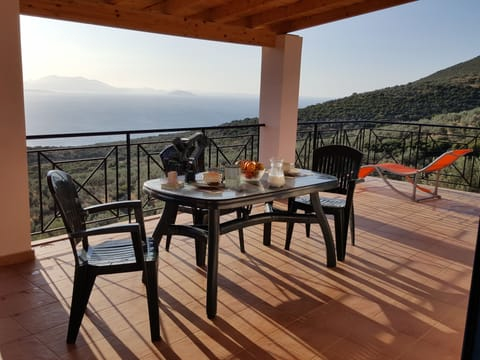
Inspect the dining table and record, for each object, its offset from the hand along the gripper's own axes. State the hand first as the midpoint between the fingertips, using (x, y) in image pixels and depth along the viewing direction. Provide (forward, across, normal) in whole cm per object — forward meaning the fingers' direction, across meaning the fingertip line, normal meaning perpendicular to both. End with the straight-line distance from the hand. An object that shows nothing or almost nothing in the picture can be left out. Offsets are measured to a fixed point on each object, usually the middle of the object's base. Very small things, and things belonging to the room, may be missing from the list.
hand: (172, 173), depth 281 cm
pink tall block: (+6, 0, +7) cm, 9 cm away
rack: (+6, 0, +7) cm, 9 cm away
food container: (-14, +19, +27) cm, 36 cm away
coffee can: (-9, +33, +22) cm, 40 cm away
